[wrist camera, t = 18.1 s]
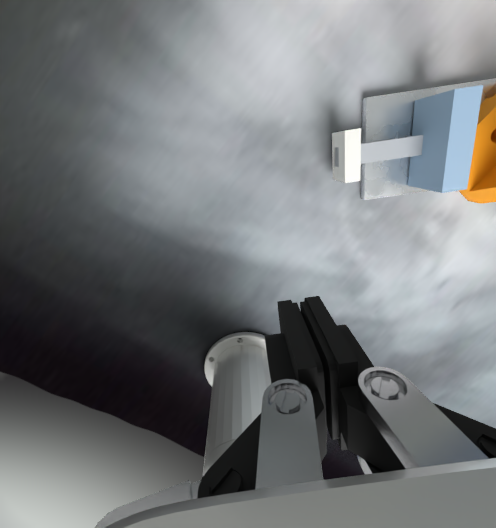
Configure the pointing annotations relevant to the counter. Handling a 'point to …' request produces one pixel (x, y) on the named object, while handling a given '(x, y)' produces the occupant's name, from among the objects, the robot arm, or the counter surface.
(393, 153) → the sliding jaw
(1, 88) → the counter surface
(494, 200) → the bracket
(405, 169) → the vise
